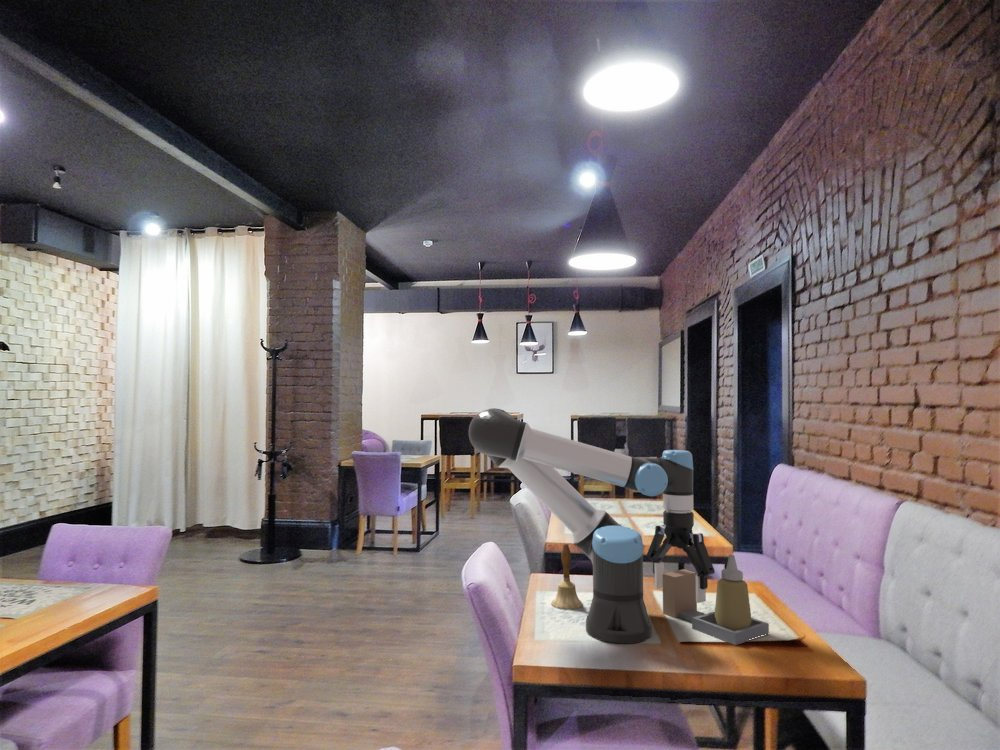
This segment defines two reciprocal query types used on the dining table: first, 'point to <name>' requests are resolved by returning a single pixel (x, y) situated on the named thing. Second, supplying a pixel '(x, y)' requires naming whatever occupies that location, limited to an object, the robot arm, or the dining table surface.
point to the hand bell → (566, 585)
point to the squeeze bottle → (732, 599)
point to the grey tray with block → (683, 604)
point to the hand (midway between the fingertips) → (679, 594)
